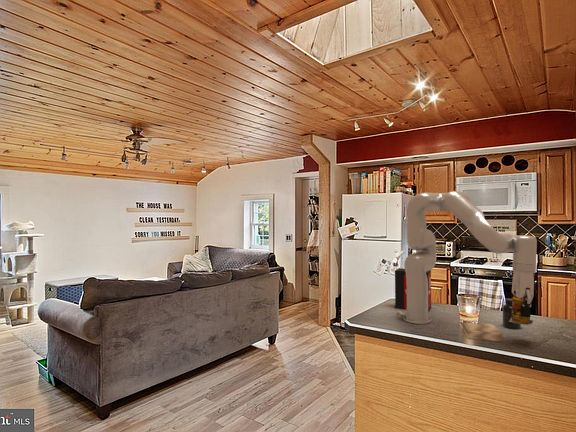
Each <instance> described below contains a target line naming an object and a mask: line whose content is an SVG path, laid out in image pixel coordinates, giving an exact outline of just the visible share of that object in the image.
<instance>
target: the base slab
mask: <svg viewBox="0 0 576 432" xmlns="http://www.w3.org/2000/svg"><path fill="white" fill-rule="evenodd" d="M462 331H463V332H464V334H465V336H466V337H467V339H468V340H477V341H478V340H479V341H480V340H481V341H494V342H502V341H503V334H502V332H501V331H500V330H499V329H498V328H497V326H496V325H495V324H493V323H492V324H491V323H490V324H489V323H475V322H462Z"/></svg>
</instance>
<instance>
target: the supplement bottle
mask: <svg viewBox="0 0 576 432" xmlns="http://www.w3.org/2000/svg"><path fill="white" fill-rule="evenodd" d="M511 317H512V298H505V301H504V305H503V306H502V325H503V327H504V328H507V329H513V330H518V329H521V328H522V327H521V326H522V324H518V323H513V322H509V321H510V319H511Z"/></svg>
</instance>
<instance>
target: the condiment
mask: <svg viewBox="0 0 576 432" xmlns="http://www.w3.org/2000/svg"><path fill="white" fill-rule="evenodd" d="M512 294H513V293H512ZM523 298H527V297H523ZM511 299H512V317H511V319H510V321H509V322H513V323H518V324H521V325H525V326H531V327H532V325H533V323H534V319H531V317H521V316H520V313H521V306H522V301H521V298H518V297H516V291H514V294H513V296H512V298H511ZM524 302H525V300H524Z"/></svg>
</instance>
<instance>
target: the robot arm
mask: <svg viewBox="0 0 576 432" xmlns="http://www.w3.org/2000/svg"><path fill="white" fill-rule="evenodd" d="M442 211H443V212H445V211H446V212H450V213H451V214H452V215H453V216H454V217H456V218H457V219H458V220H459V221H460V222H461V223H462V224H463V225H465V226H466V228H467V229H468V231H469V232H470V233H471V234H472V236H473V237H474V238H475V239H476V240H477V242H479V243H480V244H482V246H483V247H485V248H486V249H487V250H488V251H489V252H491V253H493V254H496V255H497V254H498V255H500V254H505V253H510V252H511V253H512V272H513V274H512V281H511V282H512V283H511V285H512V286H511V294H514V291H516V297H518V298H521V301H522V306H521V313H520V316H521V317H530V318H531V316H532V315H531V314H532V313H531V311H532V302H533V298H534V292H535V291H534V290H535V279H534V274H536V273H537V249H538V248H537V247H538V239H537V237H535V236H534V235H533V236H532V235H523V234H522V235H516V234H511V233H499V232H498V231H497V230H496V229H495V228H493V226H491V224H489V223H488V222H487V220H486V218H485V213H484V212H483V211H482V210H481V209H480V208H479V207H477V206H476V205H475V204H474V203H473V202H471V198H470V196H469V195H468V194H467V193H466V192H464V191H459V190H451V191H448V192H427V191H426V192H421V193H417V194H415V195H414V196H413V197H411V198H410V200H409V201H408V203H407V207H406V217H407V218H406V223H407V224H406V242H407V246H408V247H409V248H410V249H411V250H413V251H414V250H415V251H416V252H413V253H410V254H409V255H407V256H406V258H405V260H404V263H403V264H404V265H403V266H404V269H405V272H406V287H407V308H406V310H404V309H403V310H402V309H396V314H397V315H399V316H403V320H404V321H405V322H406V323H411V324H414V325H415V324H417V325H427V324H431V323H432V322H433V318H432V317H430V316H429V312H428V279H427V275H426V271H429V270H431V271H432V269H434V267H435V266H436V263H437V240H436V236H435V234H434V232H433V231H432V230H430V229H428V228H427V216H426V215H425V214H426V212H442ZM523 297H527V298H523ZM524 300H525V302H524Z"/></svg>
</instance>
